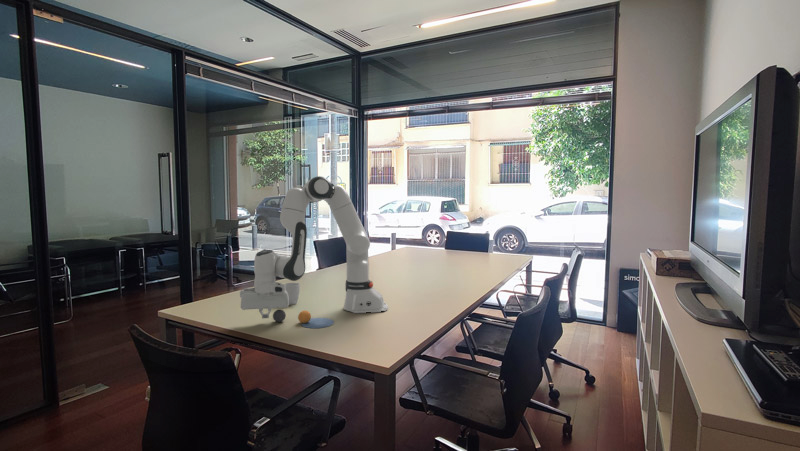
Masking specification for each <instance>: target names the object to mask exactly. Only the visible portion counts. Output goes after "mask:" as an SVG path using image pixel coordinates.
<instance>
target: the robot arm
mask: <svg viewBox="0 0 800 451" xmlns="http://www.w3.org/2000/svg"><path fill="white" fill-rule="evenodd" d="M321 201H324V202H326V203H327V205H329V208H330V211H331V214H332V216H333V218H334V220H335V222H336V224H337V226H338V229H339V232H340V233H341V236H342V237H343V240H344V242H345V244H346V250H345V251H346V252H345V253H346V280H345V286H344V287H345V299H344V304H343V309H344V310H345V311H347V312H351V313H353V314H367V313H366V312H371V313H382V312H381V311H385V312H386V310H388V309H389V306H388V303H386V302H384V301H385V300H384V297H383V294H382V293H380V291H378V290H376V289H375V288H374V283H373V281H372V280H370V279H369V277H370V276H369V274H370V273H369V272H370V270H369V269H370V263H369V249H370V246H371V241H370V238H369V236H368V234H367V231H366V230H365V227H364V226H363V224H362V221H361V219H360V217H359V215H358V213H357V210H356V208H355V206H354V203H353V202H352V200H351V196H350V195H349V193H348V192H347V190H346V189H345V188H344V186H343V185H341V184H333V183H332V182H331V181H329V179H327V178H326V177H324V176H320V175H319V176H314V177H313V178H311V179H309V180H308V181H307V182H306V183H305V184H303V185H302V187H291V188H289V189H288V190H287V192H286V194H285V196H284V199H283V202H282V205H281V210H280V215H279V222H280V223H281V225H282V227H283V228H284V229H286V230H287V231H288V232H289V234H291V235H290V236H291V237H292V242H291V253H290V256H285V255H282V254H279V253H278V252H277V253H276V252H275V251H274V250H272V249H264V250H260V251H258V252H257V253H256V254H255V256H254V262H253V264H254V265H253V272H254V280H253V282H254V283H253V286H254V287H245V288H244V287H243V288H242V289H241V290H240V291H239V297H240V309H241V310H242V311H246V310H247V311H248V310H258V312H259V313H260V315H261V319H269V318H270V314H271V312H272V310H273V309H283V308H289V305H290V304H289V297H288V293H287V291H286V285H285V284H286V283H282V282H277V281H276V278H277V277H279V278H281V279H283V278H284V279H287V280H289V281H293V282H296V281H299V280H300V279H301V278H302V277H303V276H304V275H305V272H306V249H307V237H308V235H307V234H308V231H307V226H306V222H305V221H306V220H305V219H306V213H307V208H308V206H309V203H310V204H311V203H312V204H314V203H318V202H321ZM264 309H265V310H267V311H268V312H266V313H264Z"/></svg>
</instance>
